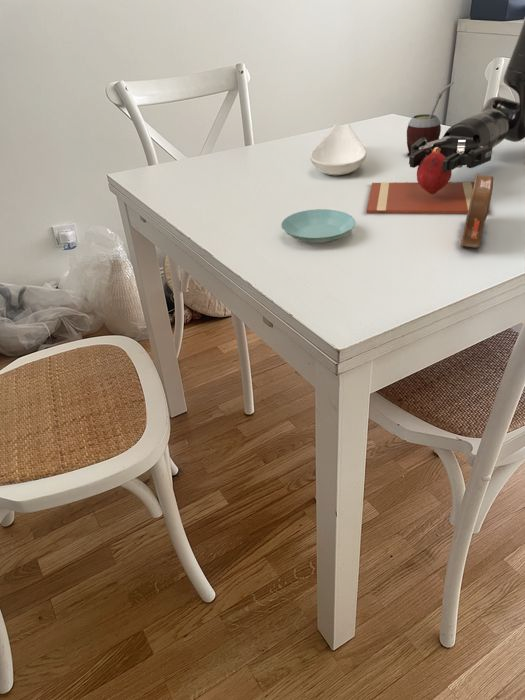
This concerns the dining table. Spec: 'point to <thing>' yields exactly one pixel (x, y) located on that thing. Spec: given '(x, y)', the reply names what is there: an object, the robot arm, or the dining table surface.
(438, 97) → the mate gourd
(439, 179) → the red pomegranate
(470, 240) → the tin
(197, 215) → the dining table surface
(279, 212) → the dining table surface
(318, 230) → the saucer
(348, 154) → the spoon rest
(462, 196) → the towel
